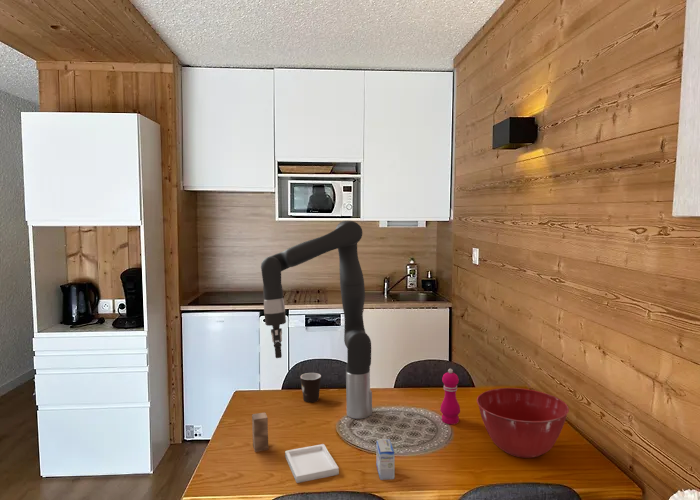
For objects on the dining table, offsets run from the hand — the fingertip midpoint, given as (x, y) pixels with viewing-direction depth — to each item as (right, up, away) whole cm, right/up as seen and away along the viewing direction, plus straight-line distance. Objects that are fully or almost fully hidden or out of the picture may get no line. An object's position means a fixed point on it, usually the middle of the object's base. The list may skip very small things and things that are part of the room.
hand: (278, 355), depth 175 cm
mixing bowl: (+83, -27, -16) cm, 89 cm away
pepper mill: (+64, -26, +5) cm, 69 cm away
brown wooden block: (-4, -28, -14) cm, 31 cm away
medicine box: (+37, -29, -30) cm, 56 cm away
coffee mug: (+10, -25, +28) cm, 39 cm away
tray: (+14, -29, -25) cm, 41 cm away
